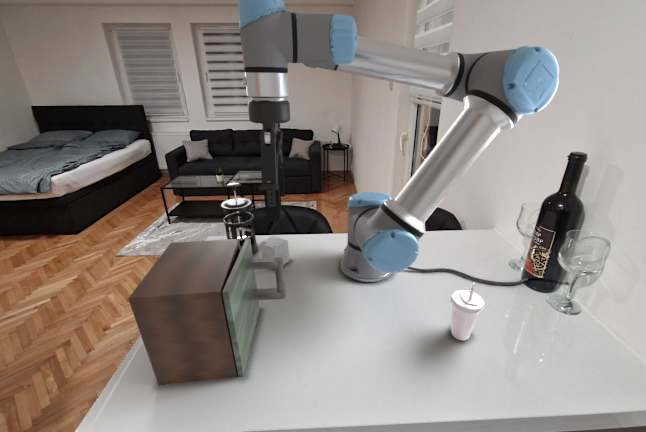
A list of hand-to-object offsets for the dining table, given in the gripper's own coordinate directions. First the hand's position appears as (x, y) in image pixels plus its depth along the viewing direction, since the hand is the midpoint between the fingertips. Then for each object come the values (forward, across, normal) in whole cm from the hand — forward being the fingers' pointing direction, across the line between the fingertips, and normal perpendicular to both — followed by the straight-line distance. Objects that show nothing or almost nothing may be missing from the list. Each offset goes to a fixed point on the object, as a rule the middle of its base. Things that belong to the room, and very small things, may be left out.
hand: (276, 207), depth 64 cm
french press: (+27, -29, -15) cm, 43 cm away
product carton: (+27, -21, -4) cm, 34 cm away
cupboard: (+27, +10, -15) cm, 32 cm away
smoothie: (+26, +13, +39) cm, 49 cm away
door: (+27, +10, -3) cm, 29 cm away
